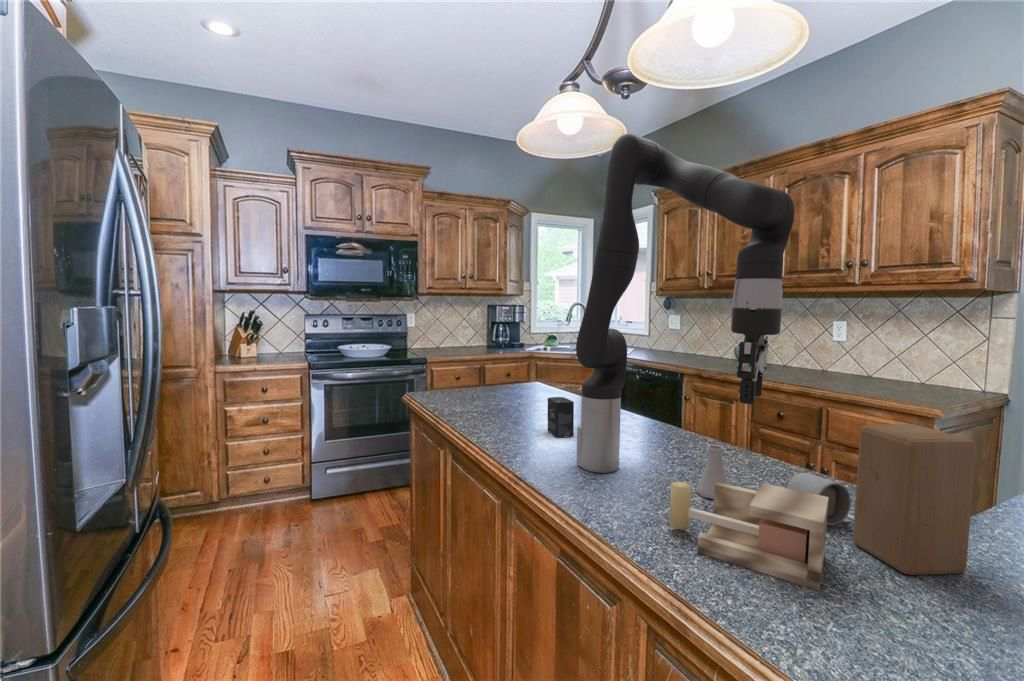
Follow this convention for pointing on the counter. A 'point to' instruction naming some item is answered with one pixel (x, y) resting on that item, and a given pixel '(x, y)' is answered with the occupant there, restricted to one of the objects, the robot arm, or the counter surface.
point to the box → (560, 416)
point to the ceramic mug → (824, 494)
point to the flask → (712, 472)
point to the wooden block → (914, 497)
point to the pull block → (742, 526)
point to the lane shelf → (775, 507)
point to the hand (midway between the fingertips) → (750, 399)
